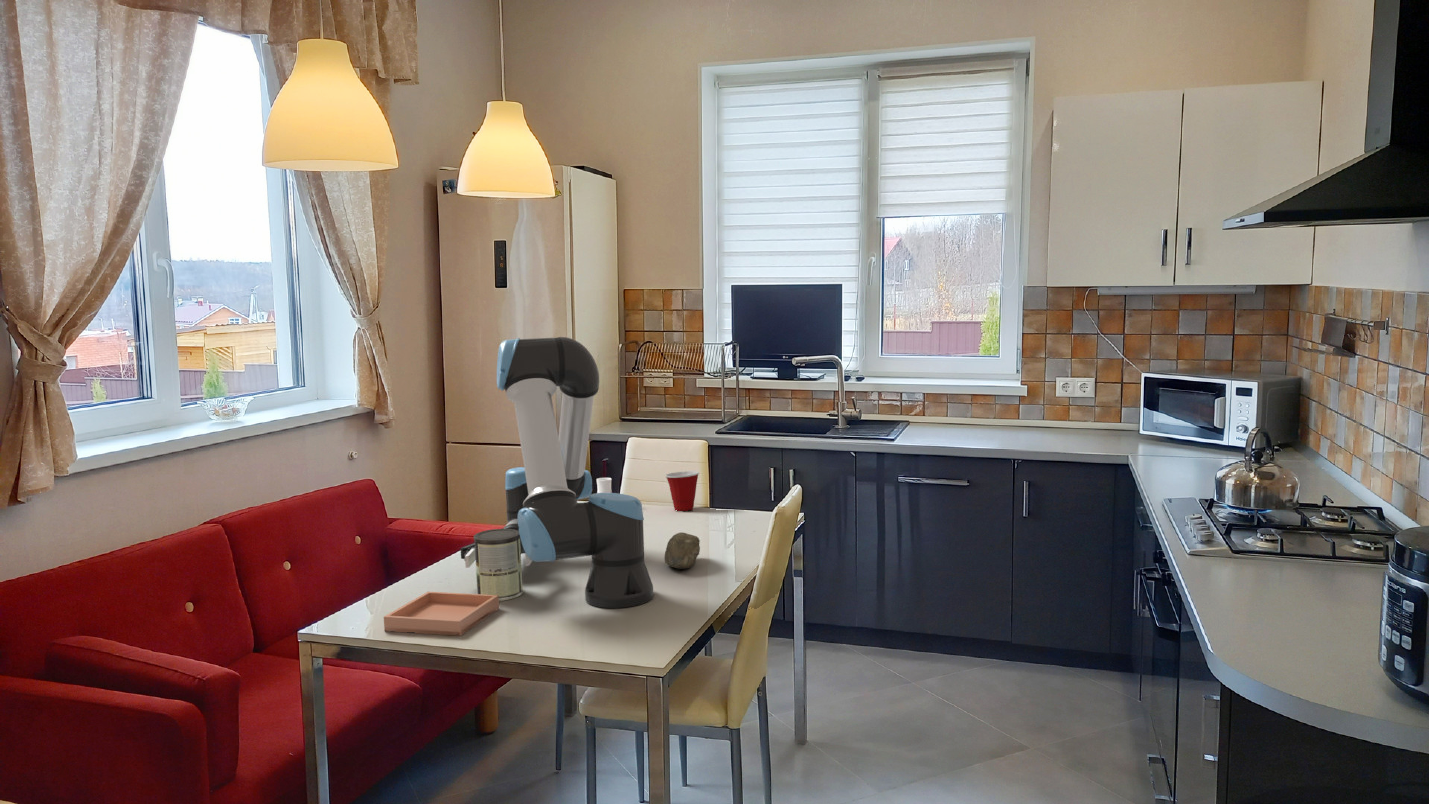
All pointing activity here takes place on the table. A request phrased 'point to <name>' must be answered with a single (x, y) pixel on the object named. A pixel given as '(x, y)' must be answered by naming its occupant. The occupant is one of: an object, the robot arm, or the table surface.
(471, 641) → the table surface
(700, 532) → the table surface
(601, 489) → the vase
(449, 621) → the terracotta dish
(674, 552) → the stone
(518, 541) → the coffee can
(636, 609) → the table surface
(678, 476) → the plastic cup
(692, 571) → the table surface
